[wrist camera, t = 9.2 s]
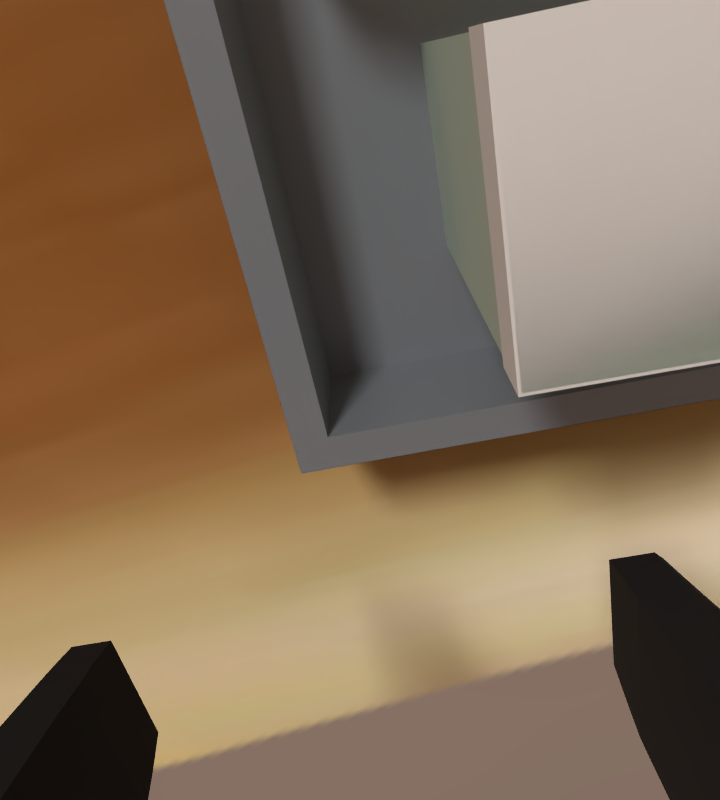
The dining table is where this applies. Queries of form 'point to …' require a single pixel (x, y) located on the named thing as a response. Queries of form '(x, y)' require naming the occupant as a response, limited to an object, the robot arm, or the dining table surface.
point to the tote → (364, 229)
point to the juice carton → (585, 185)
